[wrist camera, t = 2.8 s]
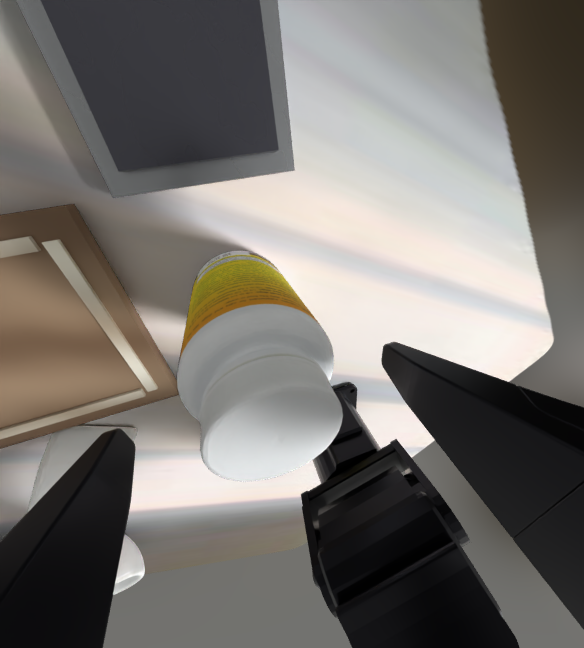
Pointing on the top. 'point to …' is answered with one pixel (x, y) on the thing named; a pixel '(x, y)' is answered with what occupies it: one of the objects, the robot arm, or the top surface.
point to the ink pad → (170, 87)
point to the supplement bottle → (255, 371)
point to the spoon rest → (58, 460)
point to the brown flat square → (67, 330)
